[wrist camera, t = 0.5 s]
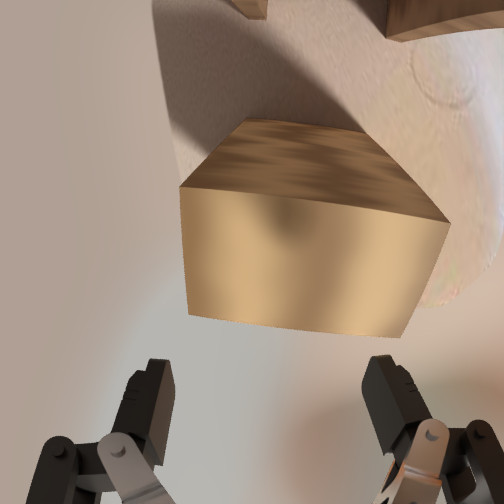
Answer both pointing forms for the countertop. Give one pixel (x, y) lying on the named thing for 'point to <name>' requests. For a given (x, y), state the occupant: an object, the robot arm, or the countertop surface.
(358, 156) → the oak block
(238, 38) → the countertop surface
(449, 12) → the walnut bridge
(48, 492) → the robot arm
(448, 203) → the countertop surface
